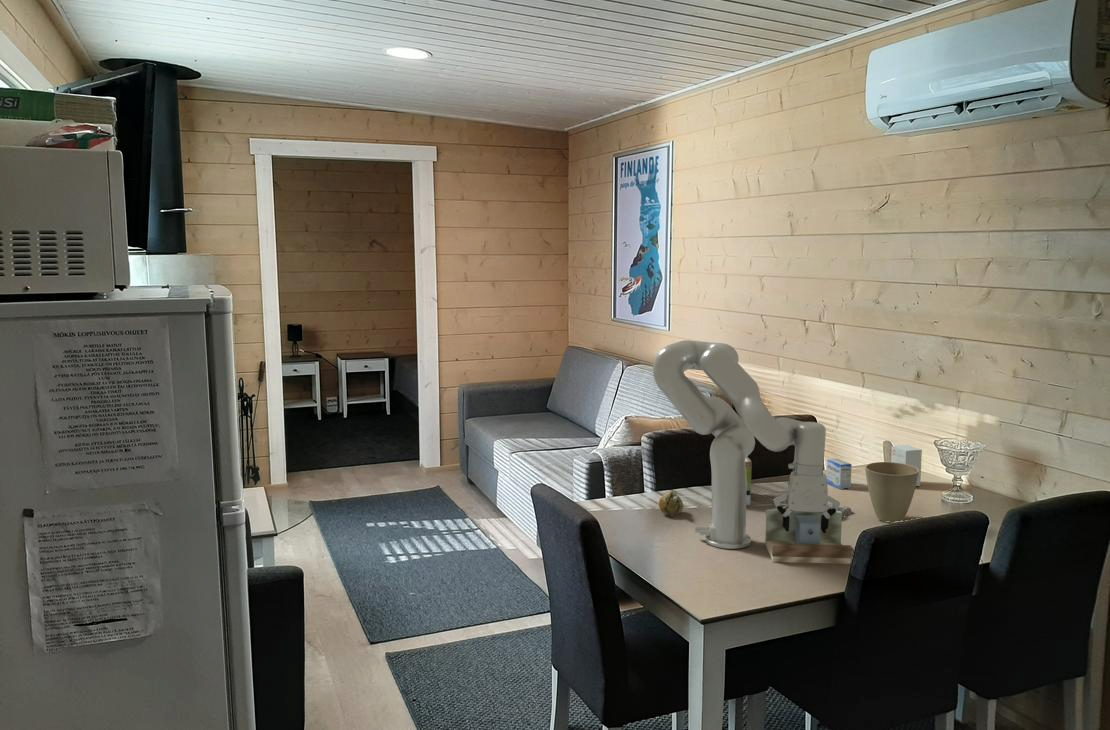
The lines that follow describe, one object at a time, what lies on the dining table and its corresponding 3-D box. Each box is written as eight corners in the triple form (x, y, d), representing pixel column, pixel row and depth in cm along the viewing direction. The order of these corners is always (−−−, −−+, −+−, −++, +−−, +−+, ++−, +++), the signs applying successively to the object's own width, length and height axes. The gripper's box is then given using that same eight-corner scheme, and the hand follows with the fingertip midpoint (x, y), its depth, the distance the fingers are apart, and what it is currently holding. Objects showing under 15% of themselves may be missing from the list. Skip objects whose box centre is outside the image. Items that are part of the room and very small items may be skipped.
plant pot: (878, 508, 258) (880, 459, 256) (925, 519, 247) (927, 468, 245) (853, 519, 249) (855, 468, 246) (901, 531, 238) (904, 477, 235)
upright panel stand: (772, 561, 216) (773, 525, 215) (765, 544, 229) (766, 509, 228) (851, 563, 214) (852, 526, 213) (839, 545, 227) (840, 510, 226)
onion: (688, 513, 257) (689, 488, 255) (675, 520, 250) (675, 494, 249) (667, 508, 261) (668, 484, 260) (654, 515, 255) (654, 490, 254)
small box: (920, 486, 281) (922, 449, 279) (904, 488, 279) (906, 450, 277) (905, 480, 288) (907, 444, 286) (889, 481, 287) (891, 445, 285)
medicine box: (825, 483, 286) (826, 459, 285) (836, 482, 288) (837, 458, 286) (839, 489, 279) (840, 464, 278) (851, 488, 280) (852, 463, 279)
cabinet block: (800, 553, 218) (801, 524, 217) (795, 543, 225) (795, 515, 224) (819, 554, 217) (820, 525, 216) (813, 543, 225) (814, 515, 223)
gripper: (777, 471, 216) (774, 534, 218) (845, 474, 214) (841, 537, 216) (773, 463, 223) (769, 524, 226) (838, 466, 221) (834, 527, 224)
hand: (804, 530), depth 221 cm, fingers open, 9 cm apart
